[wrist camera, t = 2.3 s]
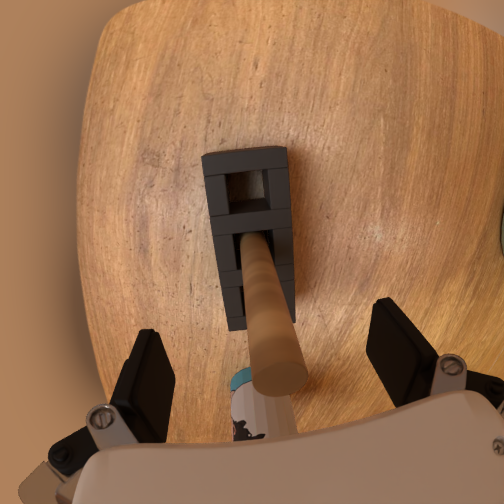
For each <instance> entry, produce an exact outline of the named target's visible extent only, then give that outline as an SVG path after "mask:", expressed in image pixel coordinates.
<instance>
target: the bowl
mask: <svg viewBox="0 0 504 504" xmlns="http://www.w3.org/2000/svg"><path fill="white" fill-rule="evenodd" d="M501 243H502V248H503V254H504V215H503V222H502V240H501Z"/></svg>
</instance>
